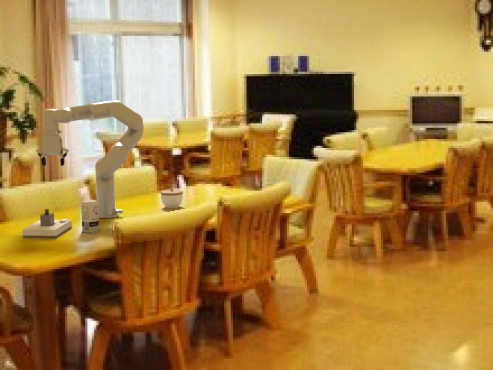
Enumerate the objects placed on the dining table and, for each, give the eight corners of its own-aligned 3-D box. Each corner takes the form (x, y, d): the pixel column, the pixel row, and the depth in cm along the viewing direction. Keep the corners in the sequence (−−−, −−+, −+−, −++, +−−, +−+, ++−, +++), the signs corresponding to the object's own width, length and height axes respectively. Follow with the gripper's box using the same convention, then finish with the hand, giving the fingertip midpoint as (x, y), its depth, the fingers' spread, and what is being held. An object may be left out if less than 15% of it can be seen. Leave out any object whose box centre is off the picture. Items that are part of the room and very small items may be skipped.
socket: (71, 227, 360) (71, 218, 359) (55, 238, 338) (55, 228, 337) (40, 227, 361) (40, 217, 360) (22, 237, 340) (22, 227, 339)
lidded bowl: (182, 209, 405) (181, 189, 403) (159, 209, 405) (159, 189, 404) (184, 205, 418) (184, 186, 416) (162, 205, 418) (162, 186, 416)
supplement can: (83, 229, 355) (82, 199, 353) (100, 229, 356) (99, 199, 353) (81, 233, 347) (79, 202, 345) (98, 233, 348) (97, 202, 345)
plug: (54, 229, 352) (53, 208, 350) (51, 231, 347) (49, 210, 345) (44, 229, 352) (43, 208, 350) (40, 231, 347) (39, 210, 346)
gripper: (70, 132, 377) (71, 164, 380) (38, 132, 379) (39, 164, 382) (65, 133, 370) (66, 166, 373) (32, 133, 372) (34, 166, 374)
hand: (53, 165), depth 377 cm, fingers open, 9 cm apart
